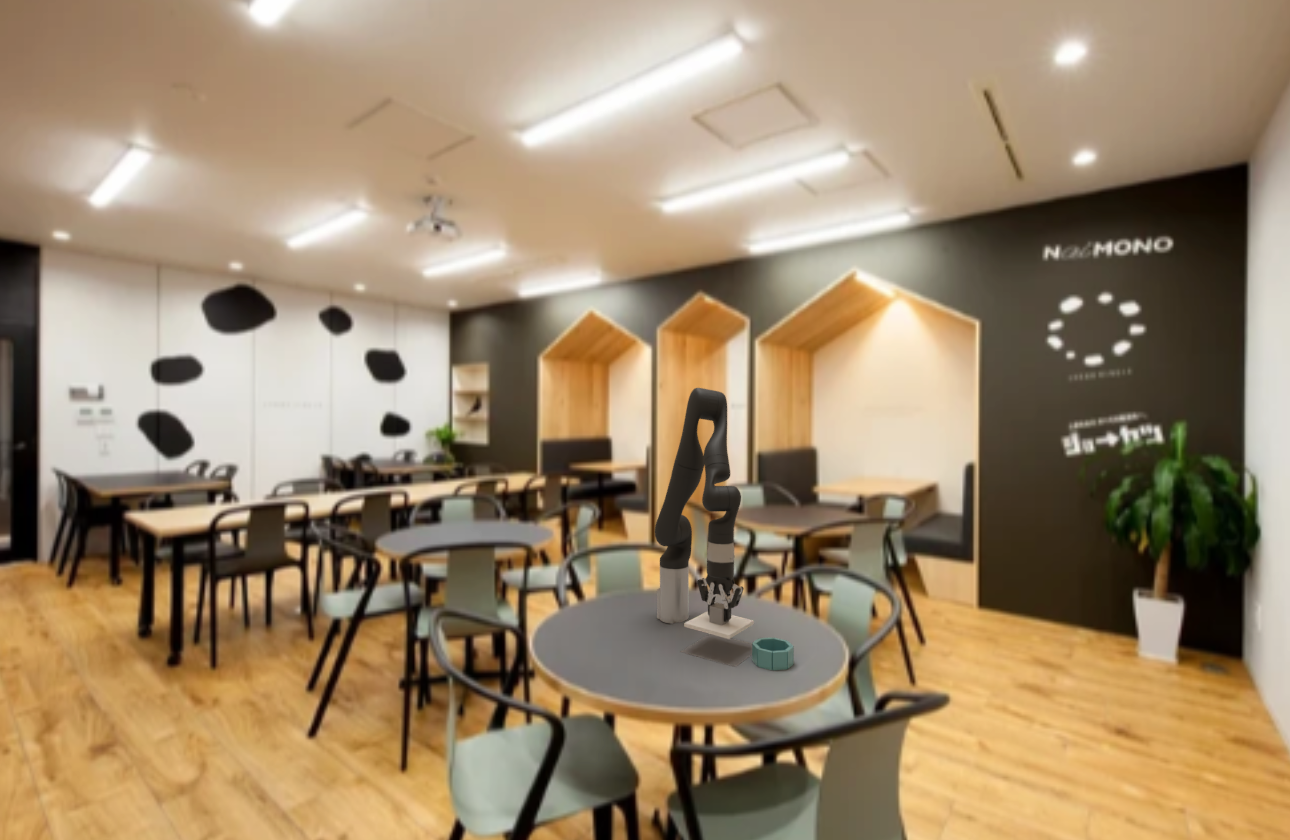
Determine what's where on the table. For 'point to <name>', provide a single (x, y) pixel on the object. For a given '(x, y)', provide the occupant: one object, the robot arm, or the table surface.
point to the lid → (718, 623)
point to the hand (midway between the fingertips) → (719, 618)
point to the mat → (720, 650)
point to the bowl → (773, 653)
